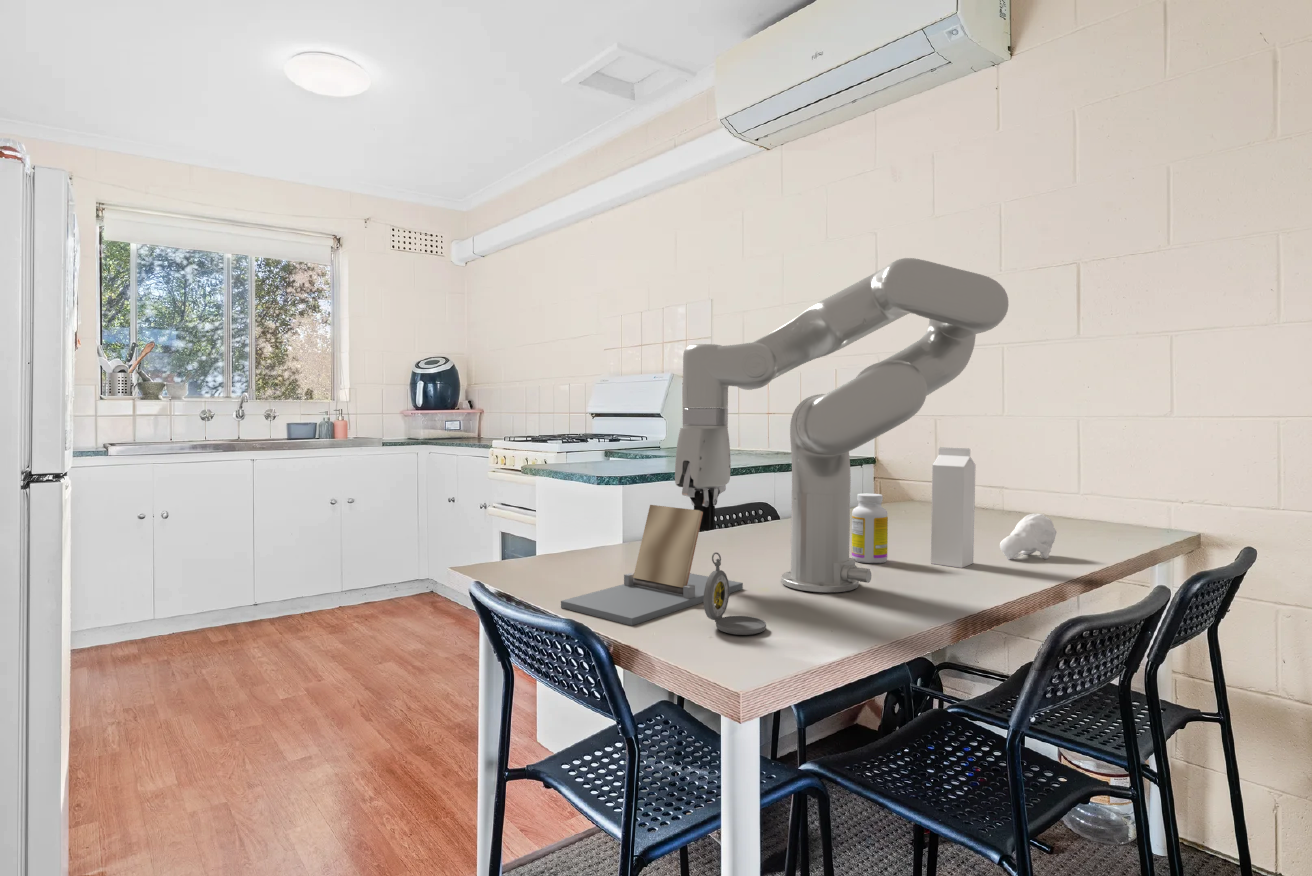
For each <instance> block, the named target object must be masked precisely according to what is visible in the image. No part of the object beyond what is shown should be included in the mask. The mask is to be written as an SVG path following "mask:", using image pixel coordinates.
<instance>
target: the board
mask: <svg viewBox="0 0 1312 876" xmlns="http://www.w3.org/2000/svg"><path fill="white" fill-rule="evenodd" d="M633 576H634V573H633V572H629V573H624V574H623V583H622V584H619V585H615V586H612V587H608V588H604V589H600V590H597V591H592V592H589V593H585V594H581V595H576V596H574V597H570V598H566V599H563V600H562V599H561V600H560V608H561V609H565V610H568V611H574V612H575V613H576V612H577V613H582V614H586V615H589V616H592V617H597V618H600V619H603V620H608V621H612V622H616V623H620V624H624V625H628V626H631V627H633V626H635V625H638V624H641V623H644V622H647V621H650V620H653V619H656V618H660V617H663V616H665V615H668V614H670V613H674V612H677V611H680V610H684V609H686V608H690V607H693V606H696V605H698V604H701V603H704V590H705V585H706V582H707V579H708V577H709V576H707V575H703V574H702V575H701V574H697V573H692V572H690V575H689V580H688V584H687V585H686V586H683V595H682V594H677V593H672V592H667V591H662V590H658V589H653V588H648V587H643V586H638V585H634V584H633V583H632V581H633V579H634V578H633ZM728 582H729V594H731V593H734V592H737V591H741V590H743V588H744V587H743V586H744V585H743V584H744V583H743V582H740V581H735V580H729V579H728ZM715 598H716V599H717V596H716V597H715Z"/></svg>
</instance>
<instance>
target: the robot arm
mask: <svg viewBox="0 0 1312 876" xmlns="http://www.w3.org/2000/svg"><path fill="white" fill-rule="evenodd" d="M1008 309H1009V297H1008V293H1007V292H1006V289H1005V288H1004V287H1003V285H1002V284H1001V283H999V282H998V281H996V280H995V279H993V278H992V277H989V276H987V275H983V274H980V273H976V272H973V271H969V270H965V269H960V268H956V267H952V266H948V265H945V264H941V263H936V262H932V261H929V260H924V259H919V258H915V257H914V258H913V257H904V258H899V259H896V260H893V262H890V263H889V264H887V265H886V266H885V267H882V269H879V270H878V271H876V272H874V273H872V274H870V275H868V276H866V277H865V278H863V279H861V280H859V281H858V282H855V283H853V284H851V285H849V286H848V287H846V288H843V289H842V290H840V291H837V292H836V293H834V294H832V295H830V296H828V297H826V298H824V299H823V300H821V301H818V302H817V303H814V304H813V305H812V306H810V307H809V308H807V309H805V310H804V311H802V313H800V314H799V315H798V316H796V317H794V318H793V319H792V320H790V321H789V322H787V323H785V324H783V325H781V326H780V327H779V328H777V329H775V330H773V331H771V332H770V333H768V334H765V335H764V336H762V337H760V338H758V339H756V340H754V341H752V342H745V343H739V344H732V345H731V344H729V345H721V344H715V343H710V344H709V343H708V344H707V343H699V344H691V345H688V346H687V347H685V349H684V350H683V356H682V427H680V429H679V433H678V437H677V444H676V453H675V465H674V466H675V468H674V483H675V486H677V487H678V488H682V489H681V490H682V491H681V495H682V496H684V497H686V498H690V501H691V506H693V510H700V511H702V512H703V515H702V519H701V524H700V529H699V531H706V532H708V531H712V530H715V526H716V525H715V524H716V506H717V505H718V498H719V496H720V495H721V494H722V493H724V492H725V491H726V489H727V487H726V486H727V484H729V482H730V479H731V467H732V465H731V461H732V460H731V445H730V443H731V442H730V435H729V429H728V428H729V425H728V424H729V409H728V408H729V387H737V388H739V389H742V390H745V391H750V390H751V391H752V390H757V389H761V388H763V387H766V385H768V384H770V383H771V382H772V380H774V379H776V378H778V377H781V376H782V375H784V374H786V373H788V372H790V371H791V370H794V369H796V368H799V367H800V366H802V365H804V364H806V363H809V362H810V361H813V360H815V359H819V358H822V357H825V356H828V355H831V354H834V353H835V352H837V351H839V350H841V349H844V348H846V347H847V346H849V345H851V344H852V343H854V342H855V343H856V342H857V341H859V340H861V339H862V338H865V337H866V336H868V335H871V334H872V333H874V332H876V331H878V330H880V329H882V328H884V327H885V326H888V325H889V324H892V323H893V322H895V321H897V320H899V319H902V317H904V316H907V315H909V314H911V315H912V314H913V315H915V316H918V317H923V318H926V319H929V320H928V321H929V323H928V327H927V330H926V332H925V334H924V335H923V336H922V337H921V338H920V339H919V340H917V341H915V342H914V343H912V344H910V345H908V346H907V347H905V348H903V349H902V350H900V351H899V352H897V353H895V354H893V355H891V356H889V357H887V358H884V359H883V360H881V361H879V362H877V363H873V364H871V365H868V366H867V367H865V368H864V369H862V370H861V371H860V372H859V373H858V374H857V375H856V377H854V378H853V379H851V380H850V381H847V382H846V383H844V384H842V385H841V386H839V387H837V388H835V389H832V390H831V391H829V392H827V393H821V394H814V395H811V396H809V397H806V398H805V399H803V400H801V402H800V403H799V404H798V405H797V406H796V407H795V409H794V410H793V413H792V415H791V418H790V419H791V420H790V424H789V425H790V426H789V436H790V439H789V440H790V441H789V442H790V453H791V505H790V506H791V516H790V517H791V519H790V520H791V521H790V525H791V526H790V530H791V531H790V570H788V571H786V572H783V573H782V574H781V576H780V578H781V583H782V584H783V585H784V586H786V587H788V588H791V589H795V590H799V591H802V592H803V591H804V592H811V593H812V592H813V593H843V592H851V591H853V590H855V589H857V588H859V582H863V583H867V584H868V583H870V582H871V580H872V572H871V569H870V568H864V567H858V566H857V565H856V561H855V559H854V558H852V557H850V534H851V533H850V530H851V529H850V527H851V525H850V524H851V519H850V518H851V481H852V480H851V461H850V458H851V457H850V452H851V451H853V450H855V449H857V448H860V447H861V446H863V445H865V444H866V443H869V442H870V441H872V440H874V439H876V438H878V437H881V436H882V435H884V434H885V433H887V432H890V431H892V430H893V429H895V428H897V427H898V426H900V425H902V424H903V423H905V422H907V421H908V420H910V419H912V418H913V417H915V415H917V413H918V412H920V410H921V408H922V407H923V406H924V403H925V401H926V399H927V396H929V395H931V394H932V393H934V392H936V391H937V390H939V389H940V388H943V387H945V385H946V386H947V384H949V383H951V381H953V380H955V379H956V378H957V377H958V376H959V375H960V374H961V373H962V372H963V371H964V370H965V369H966V367H967V365H968V363H969V362H970V359H971V358H972V355H973V352H974V348H975V345H976V336H977V334H982V333H985V332H989V331H990V330H993V329H995V328H996V327H997V326H999V324H1001V323H1002V321H1003V320H1004V319H1005V318H1006V316H1007V313H1008Z"/></svg>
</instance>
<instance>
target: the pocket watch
mask: <svg viewBox="0 0 1312 876" xmlns="http://www.w3.org/2000/svg"><path fill="white" fill-rule="evenodd" d="M715 555H718V558H717V559H715V558H714V557H715ZM714 559H715V560H714ZM711 561H712V563H713V564H714V566H715V570H713V571H712V572H711V573H710V574H709V576H708V579H707V582H706V585H705V590H704V602H703V610H704V612H705V616H706V617H707V618H708V619H710V620H712V621H714V622H715V627H716V629H717V630H719V631H721V632H724V633H726V634H731V635H738V636H739V635H740V636H748V635H756V634H759V633H762V632H764V631H765V630H766V628H767V623H766V621H765V620H763V619H760V618H758V617H754V616H748V615H747V616H746V615H729V616H724V614H725V612H726V610H727V607H728V603H729V600H730V599H729V598H730V593H729V582H728V580H729V578H728V576H727V573H725V571H723V570H722V569H720V566H721V564H722V562H721V561H722V557H721V555H720V553H719V552H714V553H713V554H712V555H711ZM716 596H717V598H715V597H716ZM723 616H724V617H723Z"/></svg>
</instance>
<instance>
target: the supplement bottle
mask: <svg viewBox="0 0 1312 876" xmlns="http://www.w3.org/2000/svg"><path fill="white" fill-rule="evenodd" d="M856 498H857V499H856V500H857V502H858V505H857V506H856V507H854V508H853V509H852V512H851V558H854V559H855V562H858V563H862V564H883V563H885V562H887V560H888V551H889V549H888V544H889V543H888V539H889V537H888V533H889V532H888V527H889V525H888V524H889V522H888V520H889V519H888V516H889V515H888V514H889V513H888V511H887V509H886V508H884V507H883V506H882V503H883V501H884V500H883V499H884V498H883V494H881V493H866V492H865V493H857V496H856Z"/></svg>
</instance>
